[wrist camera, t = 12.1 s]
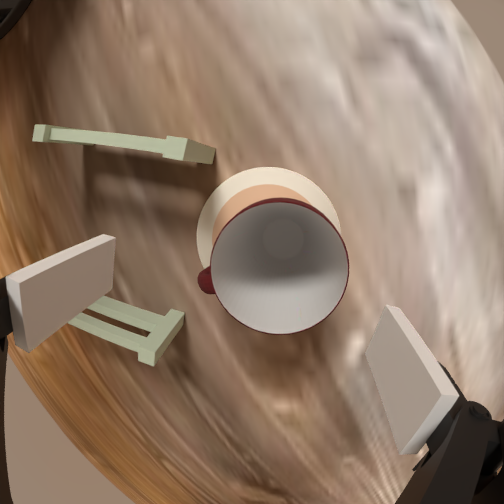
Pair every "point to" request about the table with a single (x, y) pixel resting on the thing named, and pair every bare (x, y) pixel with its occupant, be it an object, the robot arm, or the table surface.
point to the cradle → (157, 324)
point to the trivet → (253, 190)
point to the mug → (278, 267)
